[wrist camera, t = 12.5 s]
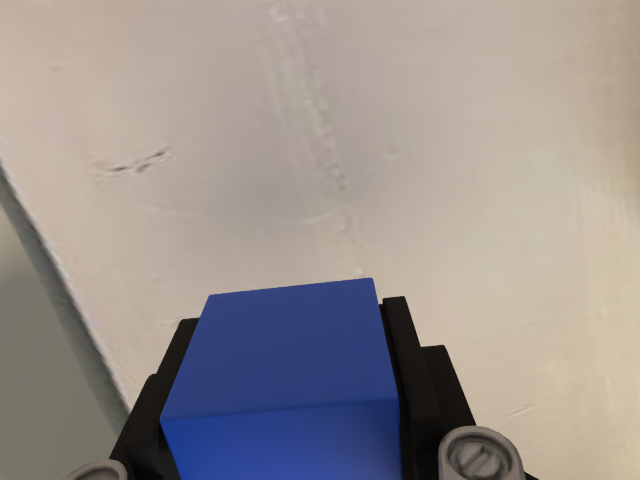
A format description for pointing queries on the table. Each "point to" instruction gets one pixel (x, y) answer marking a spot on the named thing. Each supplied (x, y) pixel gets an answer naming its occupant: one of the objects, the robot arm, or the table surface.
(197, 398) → the blue block
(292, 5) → the table surface
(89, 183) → the table surface
